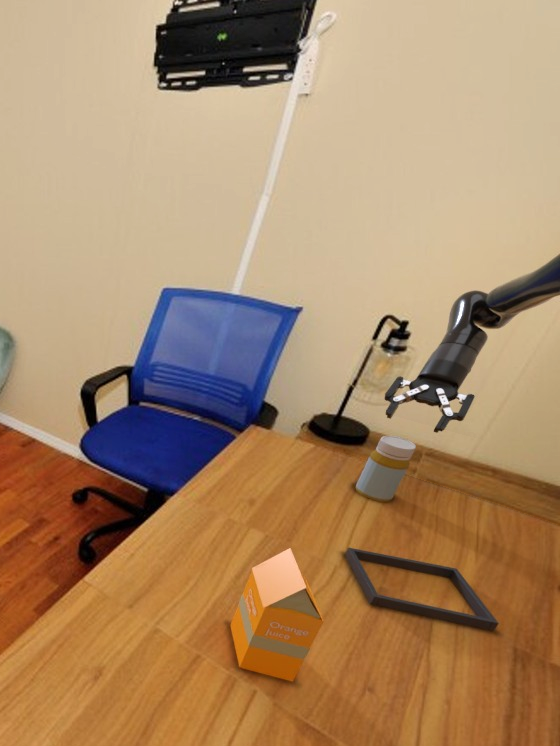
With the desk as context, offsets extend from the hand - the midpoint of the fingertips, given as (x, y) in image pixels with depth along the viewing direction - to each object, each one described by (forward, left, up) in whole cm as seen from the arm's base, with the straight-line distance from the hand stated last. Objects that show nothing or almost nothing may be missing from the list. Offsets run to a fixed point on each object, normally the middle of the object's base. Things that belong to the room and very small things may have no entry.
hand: (411, 423), depth 118 cm
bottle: (+4, +5, -18) cm, 19 cm away
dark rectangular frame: (+9, +39, -18) cm, 44 cm away
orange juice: (+39, +64, -18) cm, 77 cm away
